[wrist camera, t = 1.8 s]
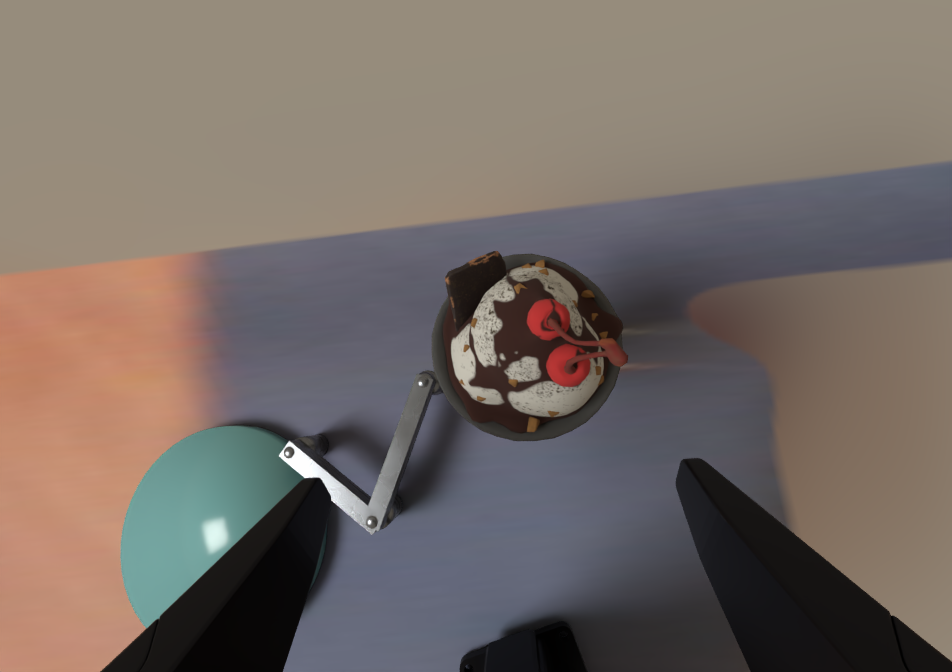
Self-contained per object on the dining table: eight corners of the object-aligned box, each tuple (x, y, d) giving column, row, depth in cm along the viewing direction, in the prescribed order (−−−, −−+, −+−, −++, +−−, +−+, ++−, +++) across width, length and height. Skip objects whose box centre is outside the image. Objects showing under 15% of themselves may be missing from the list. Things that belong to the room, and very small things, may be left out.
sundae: (582, 416, 21) (729, 457, 7) (472, 425, 22) (387, 481, 7) (568, 311, 23) (665, 149, 8) (464, 322, 23) (376, 192, 9)
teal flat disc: (352, 605, 21) (344, 615, 20) (155, 676, 22) (138, 689, 21) (297, 396, 24) (288, 396, 23) (123, 464, 24) (107, 467, 23)
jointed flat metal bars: (482, 484, 21) (476, 498, 18) (331, 540, 22) (302, 563, 19) (441, 369, 23) (430, 365, 20) (301, 423, 23) (269, 427, 20)
